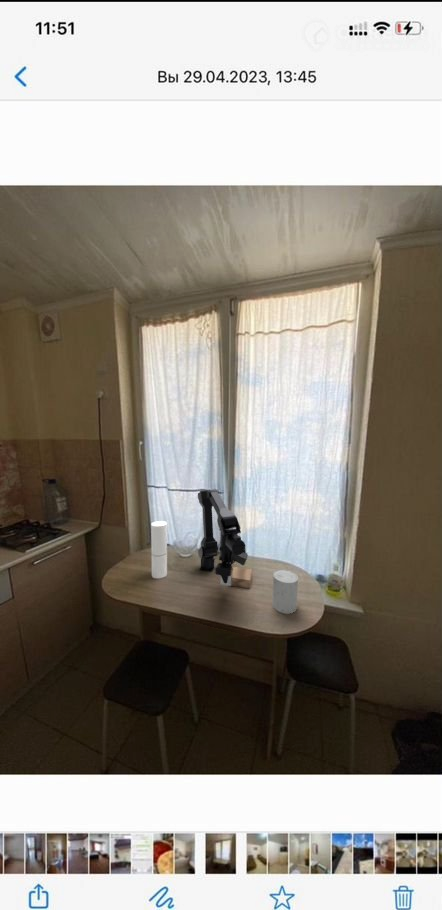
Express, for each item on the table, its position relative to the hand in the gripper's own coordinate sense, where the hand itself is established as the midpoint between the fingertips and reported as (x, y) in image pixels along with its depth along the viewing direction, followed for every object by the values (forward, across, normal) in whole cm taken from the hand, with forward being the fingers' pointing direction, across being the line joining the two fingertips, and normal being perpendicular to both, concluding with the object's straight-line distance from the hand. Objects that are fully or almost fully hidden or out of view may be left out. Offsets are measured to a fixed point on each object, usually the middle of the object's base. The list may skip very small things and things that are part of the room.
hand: (226, 579), depth 105 cm
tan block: (+6, +11, -5) cm, 13 cm away
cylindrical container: (+6, +7, +34) cm, 35 cm away
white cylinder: (+6, -2, -24) cm, 25 cm away
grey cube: (+1, 0, 0) cm, 1 cm away
